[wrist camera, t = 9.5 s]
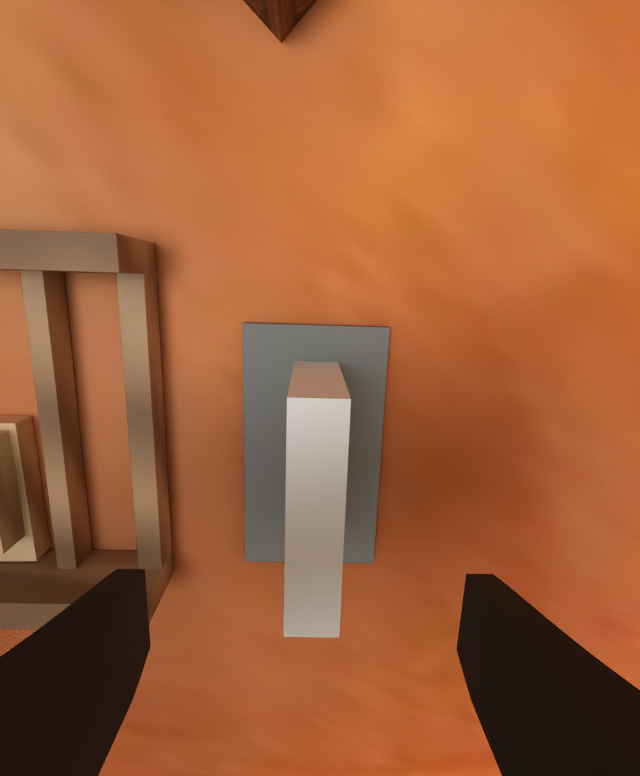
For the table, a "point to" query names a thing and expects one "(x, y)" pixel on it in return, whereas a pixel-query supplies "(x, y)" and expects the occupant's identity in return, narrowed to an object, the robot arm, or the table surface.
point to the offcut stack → (21, 493)
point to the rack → (61, 423)
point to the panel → (315, 498)
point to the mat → (269, 420)
